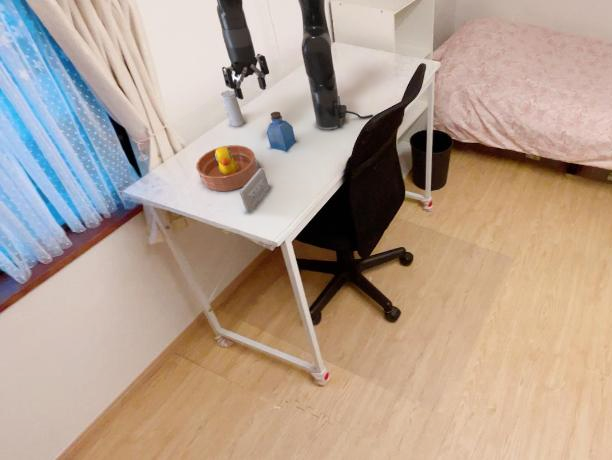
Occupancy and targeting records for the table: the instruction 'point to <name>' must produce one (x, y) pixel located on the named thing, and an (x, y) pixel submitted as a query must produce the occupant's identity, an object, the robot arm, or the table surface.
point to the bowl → (220, 182)
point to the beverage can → (232, 108)
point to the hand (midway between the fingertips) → (252, 93)
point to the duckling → (226, 161)
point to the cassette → (254, 190)
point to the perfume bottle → (280, 133)
